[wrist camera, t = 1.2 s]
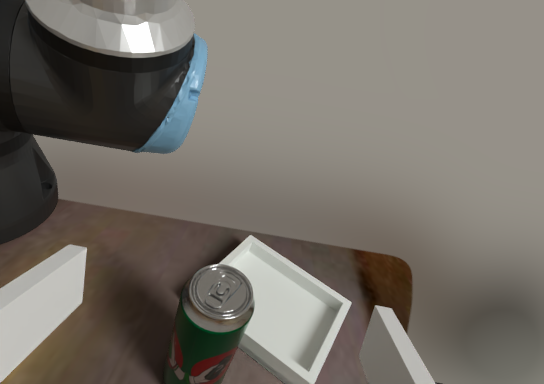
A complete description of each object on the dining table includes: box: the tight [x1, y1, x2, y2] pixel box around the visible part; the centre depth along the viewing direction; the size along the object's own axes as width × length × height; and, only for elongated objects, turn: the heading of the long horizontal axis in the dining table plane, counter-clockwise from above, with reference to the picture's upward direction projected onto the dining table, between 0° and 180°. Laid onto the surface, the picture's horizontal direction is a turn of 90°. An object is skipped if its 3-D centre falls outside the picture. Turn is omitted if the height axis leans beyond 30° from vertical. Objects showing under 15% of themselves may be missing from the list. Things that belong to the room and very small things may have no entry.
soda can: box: [163, 264, 255, 384], centre depth 25 cm, size 5×5×12 cm
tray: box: [219, 235, 352, 384], centre depth 35 cm, size 14×11×2 cm
